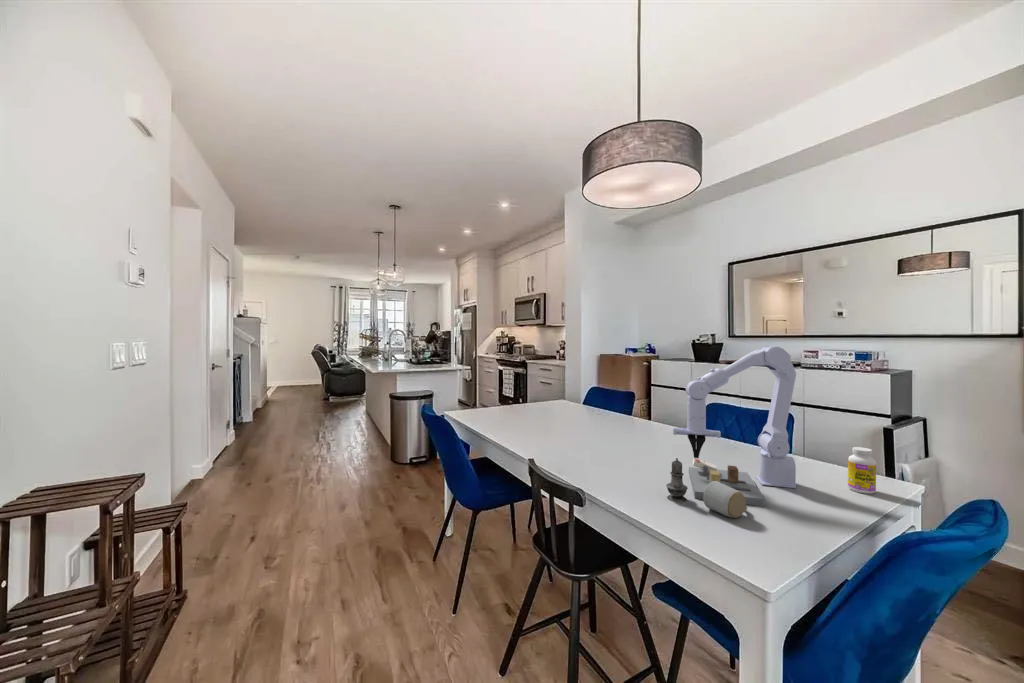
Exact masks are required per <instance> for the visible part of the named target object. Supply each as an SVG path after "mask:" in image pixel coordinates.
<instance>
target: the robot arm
mask: <svg viewBox="0 0 1024 683" xmlns="http://www.w3.org/2000/svg"><path fill="white" fill-rule="evenodd" d="M791 359H792V358H791V354H789V353H788V352H787V351H786V350H785V349H784V348H782V347H780V346H769V345H764V346H761V347H760V348H758V349H755V350H752V351H751V352H749V353H747V354H746V355H744V356H742V357H741V358H739V359H737V360H736V361H734V362H733V363H731V364H729V365H727V366H725V367H724V368H715V369H714V368H711V369H709V372H708V373H706V374H704V375H702V376H698V377H696V379H697V380H691V381H689V382H688V383H687V385H686V386H685V392H686V394H687V403H686V404H687V405H686V406H687V407H686V410H687V411H686V414H687V415H686V419H687V420H686V422H687V423H686V425H687V426H686V427H673V428H672V434H673V435H674V436H677V435H680V436H681V435H683V436H687V438H688V440H689V442H690V443H689V444H690V445H691V448H692V454H693V458H696V459H699V458H700V454H701V450H702V447H703V445H704V443H705V442H706V440H707V439H706V438H707V437H709V438H717V439H721V438H722V437H721V436H722V435H721V433H722V432H721V431H720V430H714V429H713V430H712V429H708V428H707V425H706V423H707V416H706V415H707V411H706V410H707V404H706V398H707V396H708V395H709V393H712V392H714V391H716V390H718V389H719V388H721V387H723V386H725V385H727V384H728V383H729V379H730V378H731V377H733V376H735V375H737V374H739V373H741V372H743V371H745V370H748V369H749V368H751V367H753V366H755V367H756V366H757V367H760V366H761V367H762V366H764V367H766V368H767V369H769V371H771V373H772V374H773V375H774V376H775V379H774V385H773V391H772V395H771V400H770V405H769V406H770V407H769V411H768V415H767V416H768V417H767V420H766V421H767V422H766V423H765V425H764V426H763V428H762V431H761V433H760V434H759V435H758V437H757V445H758V446H759V447H760V452H759V475H756V477H755V478H756V479H757V480H758V482H759V483H760V484H761V485H762V486H769V487H780V488H790V489H797V485H796V476H797V475H796V474H797V473H796V472H797V471H796V462H795V461H796V460H795V459H794V457H793V456H789V455H788V454H789V453H790V443H789V433H788V430H787V424H788V419H789V414H790V408H791V403H792V399H793V393H794V388H795V383H796V379H797V378H796V377H797V372H796V369H795V367H794V364H793V362H792V360H791ZM787 455H788V456H787Z"/></svg>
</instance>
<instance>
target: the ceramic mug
mask: <svg viewBox="0 0 1024 683" xmlns="http://www.w3.org/2000/svg"><path fill="white" fill-rule="evenodd" d="M702 500H703V503H704V505H705V507H706V508H708V509H710V510H712V511H714V512H717V513H719V514H721V515H723V516H726V517H729V518H731V519H737V518H740V517H741V516H742V515H743V513H745V512H747V510H748V506H747V504H746V499H745V497H744V495H743V494H742V493H741V492H739V491H737V490H735V489H733V488H731V487H729V486H726V485H724V484H722V483H720V482H718V481H712V482H710V483H709V484H708V485H707V487H706V488H705V491H704V495H703V499H702Z"/></svg>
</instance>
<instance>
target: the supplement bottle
mask: <svg viewBox="0 0 1024 683" xmlns="http://www.w3.org/2000/svg"><path fill="white" fill-rule="evenodd" d="M872 456H873V449H872V448H867V447H862V446H854V447H852V454H851V455H849V456H848V459H847V462H848V463H847V488H848V489H849V490H851V491H853V492H856V493H859V494H860V493H861V494H866V495H867V494H868V495H872V494H876V492H877V491H876V489H877V488H876V487H877V461H876V459H874V458H873V457H872Z"/></svg>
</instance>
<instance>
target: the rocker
mask: <svg viewBox="0 0 1024 683" xmlns="http://www.w3.org/2000/svg"><path fill="white" fill-rule="evenodd" d="M704 461H705V460H701V459H699V458H694V457H693V459H692V462H691V463H692V466H693V467H694V468H701V469H703V466H705V467H708V471H710V470H713V471H717V470H718V467H717V465H716V464H713V463H710V462H706V461H705V462H704Z"/></svg>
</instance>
